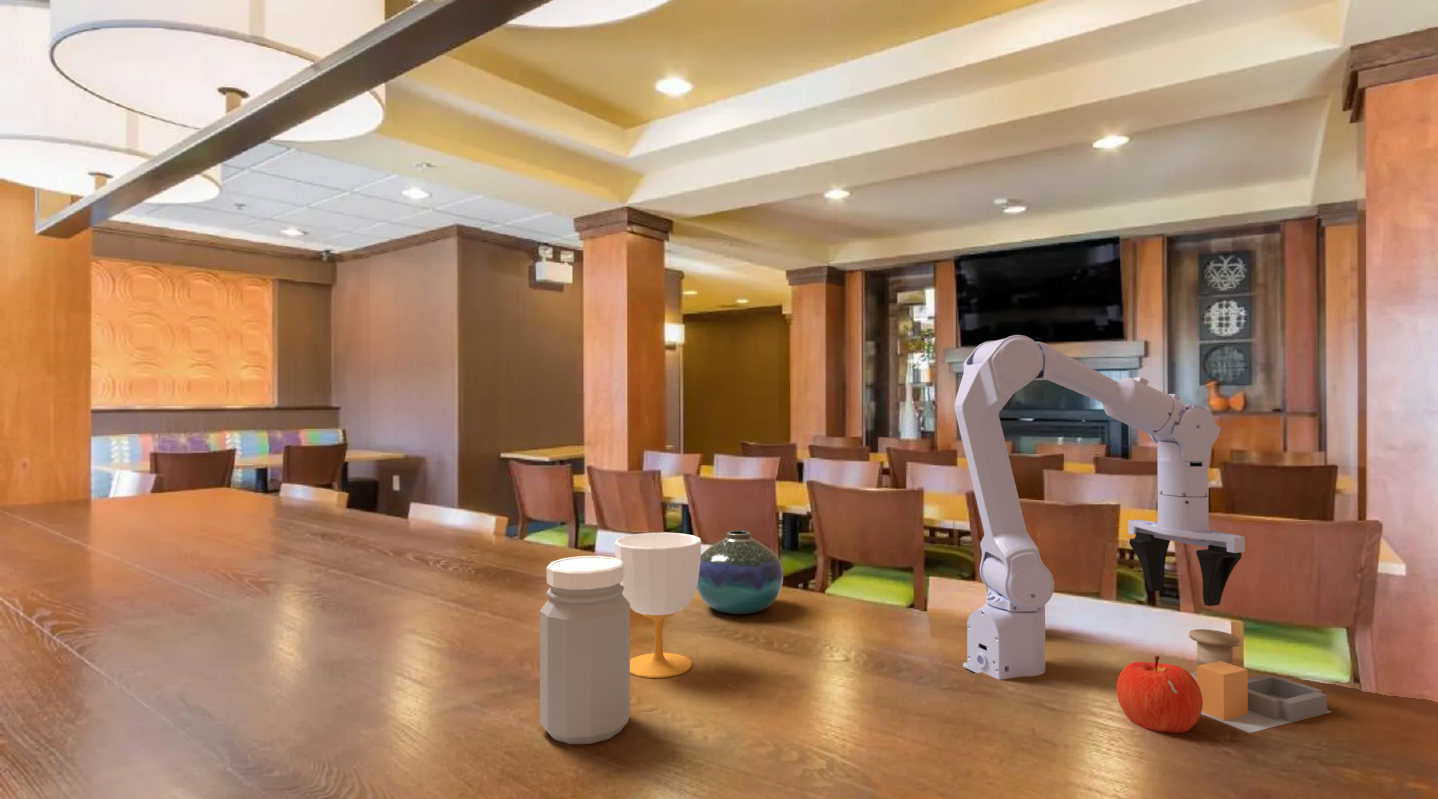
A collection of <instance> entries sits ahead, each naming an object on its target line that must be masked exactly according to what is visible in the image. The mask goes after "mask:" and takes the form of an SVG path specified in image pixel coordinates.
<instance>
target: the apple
mask: <svg viewBox="0 0 1438 799" xmlns="http://www.w3.org/2000/svg"><path fill="white" fill-rule="evenodd" d="M1159 659H1160V656H1159V655H1155V656H1154V662H1151V661H1150V662H1147V661H1134V662H1132V663H1130V664H1127V665H1126V666H1125V667H1124V668H1123V669H1122V670H1121V672H1120V674H1119V675H1118V677H1117V681H1116V696H1117V700H1118V703H1119V706H1120V707H1121V709H1122V712H1123V713H1124V714H1125V716H1126V717H1127V718H1128V719H1129V721H1131V722H1132V723H1134V724H1135V725H1138V726H1139V727H1142V728H1144V729H1147V730H1150V731H1155V732H1161V733H1171V734H1173V733H1175V734H1177V733H1178V734H1181V733H1187V732H1189V730H1191V729H1192V728H1193V727H1194V726H1195V725H1196V723H1197V722H1198V721H1199V719H1200V717H1201V715H1202V714H1201V711H1202V707H1203V698H1202V694H1201V690H1200V688H1199V685H1198V684H1197V682H1196V680H1195V679H1194V678H1193V677H1192V675H1191V674H1190V673H1191V672H1188V671H1187V670H1186V669H1184V668H1183V667H1181V666H1178V665H1175V664H1168V663H1164V662H1163V663H1162V662H1159Z"/></svg>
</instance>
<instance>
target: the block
mask: <svg viewBox="0 0 1438 799" xmlns="http://www.w3.org/2000/svg"><path fill="white" fill-rule="evenodd" d="M1248 671H1249V670H1248V669H1247V668H1243V667H1240V666H1237V665H1234V664H1233V665H1232V664H1229V663H1225V662H1222V661H1217V662H1212V663H1207V664H1202V665H1196V672H1197V684H1198V685H1199V688H1200V690H1201V694H1202V698H1203V707H1202V711H1201V712H1203V713H1206V714H1209V715H1211V716H1214V717H1216V718H1219V719H1221V720H1228V719H1232V718H1236V717H1241V716H1245V715H1248V678H1249V676H1248V674H1249V673H1248Z"/></svg>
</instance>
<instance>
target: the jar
mask: <svg viewBox="0 0 1438 799" xmlns="http://www.w3.org/2000/svg"><path fill="white" fill-rule="evenodd" d="M623 578H624V562H622V561H621V560H618V559H616V557H610V556H603V555H581V556H578V555H577V556H572V557H564V558H560V559H557V560H553V561H551V562H550V563H549V564H548V565H547V567H546V584H548V585H549V586H550V587H549V588H548V590H547V591H546V592H545V595H546V596H547V597H548V599H547V601H546V602H545V603H544V605H543V606H542V607H541V609H540V610H539V724H540V725H541V727H542V728H544V730H545V731H546V732H547V733H548V734H549V735H550V736H551V738H553V740H554V741H557V742H561V743H565V744H567V745H591V744H595V743H599V742H603V741H606V740H609V739H611V738H612V737H614V736H615V735H617V734H620V732H621V731H622V730H623V729H624V727H625V726H626V725H627V724H628V723H629V718H630V714H631V674H630V659H631V608H630V603H629V602H628V600H627V599H626V598H625V597H624V595H623V594H622V593H623V590H624V586H622V585H620V583H621V582H622V580H623Z"/></svg>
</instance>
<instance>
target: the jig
mask: <svg viewBox="0 0 1438 799" xmlns="http://www.w3.org/2000/svg"><path fill="white" fill-rule="evenodd" d="M1189 673H1190V674H1191V673H1192V672H1189ZM1193 673H1197V671H1194V672H1193ZM1329 713H1332V711H1331V710H1328V694H1325V693H1323V690H1322V689H1319V688H1317V687H1314V686H1311V685H1306V684H1305V683H1300V682H1297V681H1295V680H1291V679H1287V678H1285V677H1281V676H1279V675H1278V676H1274V677H1273V676H1269V675H1266V674H1260V675H1257V676H1250V677H1248V715H1245V716H1241V717H1236V718H1232V719H1228V720H1221V719H1219V718H1216V717H1214V716H1211V715H1209V714H1206V713H1203V712H1201V715H1203V716H1205V717H1208V718H1211V719H1213V720H1216V721H1217V722H1221V723H1223V724H1225V725H1228V726H1231V727H1233V728H1236V729H1238V730H1240V731H1242V732H1244V733H1245V732H1246V733H1248V734H1253V733H1256V732H1260V731H1264V730H1267V729H1271V728H1276V727H1279V726H1283V725H1287V724H1291V723H1294V722H1298V721H1302V720H1306V719H1310V718H1314V717H1318V716H1321V715H1325V714H1326V715H1327V714H1329Z"/></svg>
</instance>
